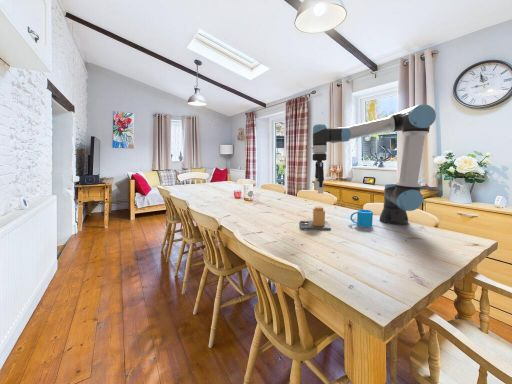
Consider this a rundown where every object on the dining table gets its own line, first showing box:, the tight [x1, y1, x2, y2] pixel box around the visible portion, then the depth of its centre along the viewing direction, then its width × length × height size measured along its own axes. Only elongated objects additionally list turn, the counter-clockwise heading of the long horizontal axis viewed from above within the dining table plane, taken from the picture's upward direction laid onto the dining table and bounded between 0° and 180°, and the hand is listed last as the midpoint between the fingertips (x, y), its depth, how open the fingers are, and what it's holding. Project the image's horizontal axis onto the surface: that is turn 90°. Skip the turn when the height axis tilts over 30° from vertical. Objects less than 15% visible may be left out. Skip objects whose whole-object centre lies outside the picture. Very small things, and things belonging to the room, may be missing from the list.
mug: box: [350, 209, 374, 228], centre depth 142 cm, size 12×8×8 cm
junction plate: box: [299, 220, 332, 231], centre depth 141 cm, size 16×14×6 cm
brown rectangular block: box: [312, 206, 326, 226], centre depth 140 cm, size 6×6×10 cm
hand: (318, 191), depth 138 cm, fingers open, 13 cm apart
